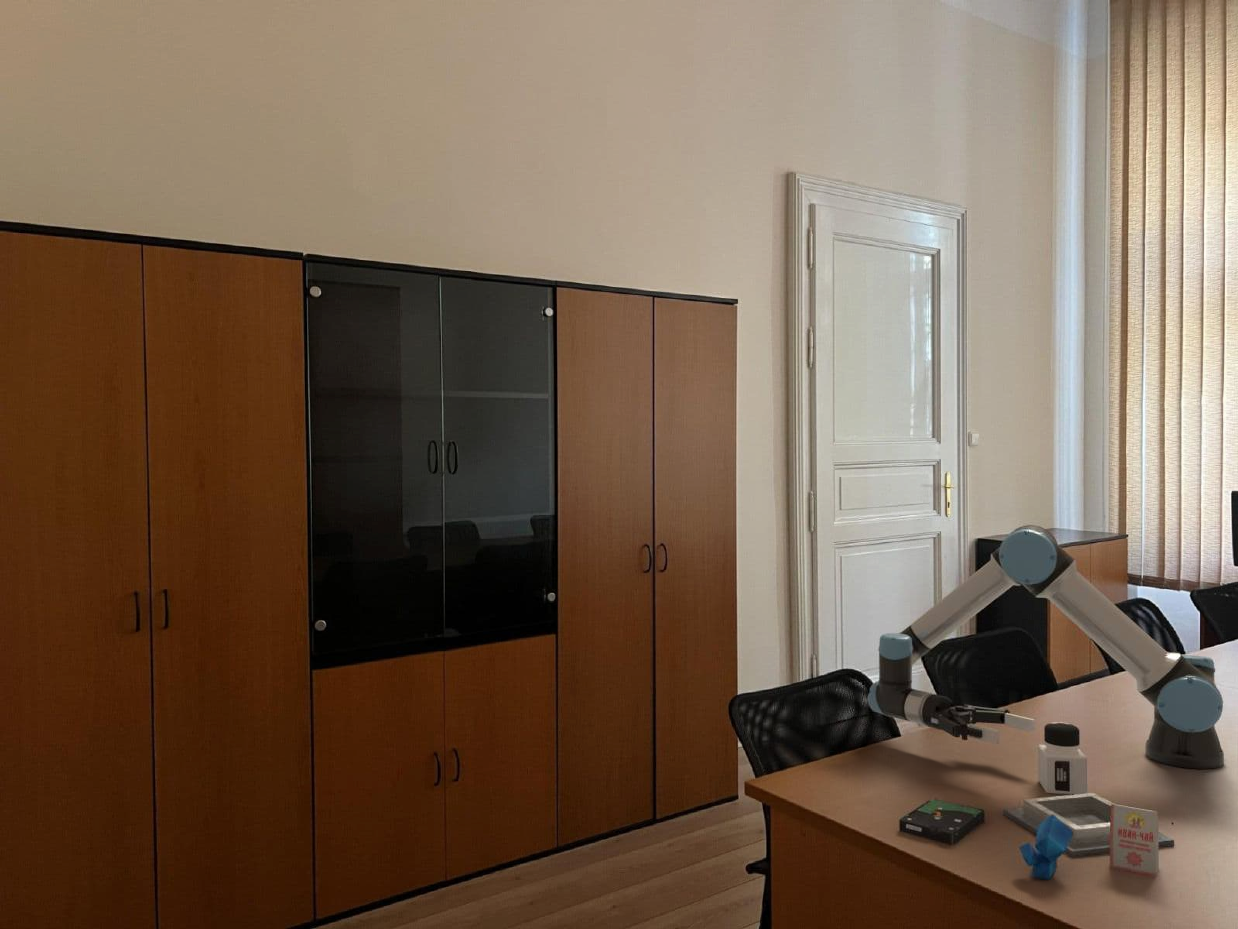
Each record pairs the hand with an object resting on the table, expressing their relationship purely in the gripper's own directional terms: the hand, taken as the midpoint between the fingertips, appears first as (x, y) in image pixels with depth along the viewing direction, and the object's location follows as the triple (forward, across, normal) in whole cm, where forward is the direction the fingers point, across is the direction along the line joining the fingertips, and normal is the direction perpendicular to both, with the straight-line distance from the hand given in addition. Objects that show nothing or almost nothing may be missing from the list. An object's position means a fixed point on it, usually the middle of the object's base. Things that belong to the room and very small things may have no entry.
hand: (1016, 731), depth 208 cm
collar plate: (+24, +17, -9) cm, 31 cm away
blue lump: (+29, +40, -10) cm, 50 cm away
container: (+10, 0, -10) cm, 14 cm away
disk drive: (+7, +36, -10) cm, 38 cm away
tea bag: (+37, +27, -9) cm, 47 cm away
